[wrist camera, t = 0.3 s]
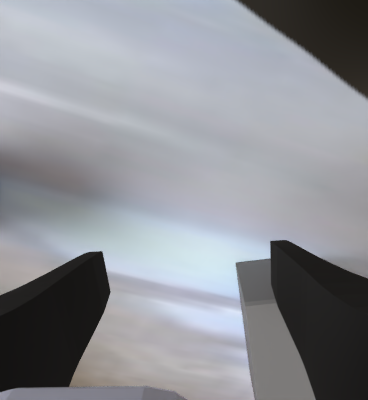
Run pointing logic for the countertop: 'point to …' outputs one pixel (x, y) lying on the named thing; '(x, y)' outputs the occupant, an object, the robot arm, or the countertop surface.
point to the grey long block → (269, 338)
